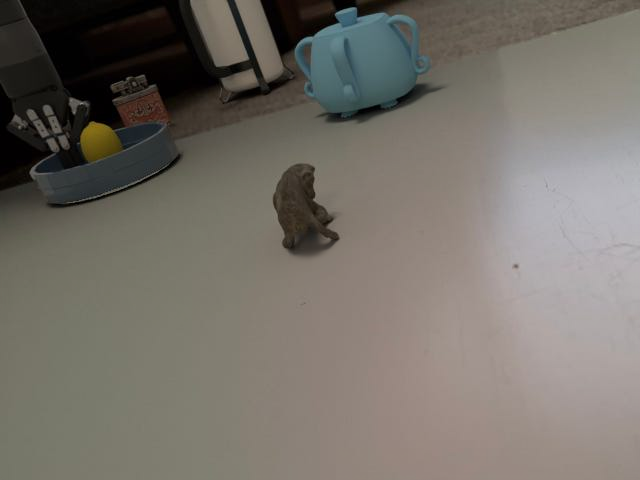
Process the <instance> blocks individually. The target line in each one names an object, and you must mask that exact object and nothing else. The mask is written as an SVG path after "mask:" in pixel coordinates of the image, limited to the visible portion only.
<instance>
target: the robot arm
mask: <svg viewBox="0 0 640 480" xmlns="http://www.w3.org/2000/svg"><path fill="white" fill-rule="evenodd" d="M31 22H32V21H31V20H30V18H29V17H28V15H27V12H26V11H25V9H24V7H23V5H22V3H21V1H20V0H0V85H1V86H2V88H3V90H4V92H5V94H6V96H7V97H8V98H9V100H10V101H11V103H12V111H13V113H14V116H13V118H12V119H11V122H9V123H8V124H7V125H6V130H7V131H8V132H9V133H11V134H13V135H14V136H16V137H17V138H19V139H20V140H22V141H24V142H26V143H27V144H29V145H30V146H32V147H33V148H34V149H37V150H39V151H40V152H42V153H43V152H46V151H48V152H53V153H54V154H55V153H56V155H57V157H58V159H59V161H60V163H61V164H62V166H63V168H64V170H66V169H70V168H74V167H77V166H81V165H85V161H84V159H83V158H82V156H81V154H80V152H79V150H78V148H77V143H80V138H81V134H82V132H83V130H84V129H85V128H86V127H87V126H88V125H89V118H90V114H91V109H92V103H91V102H90V101H89V100H83V101H82V100H79V99H76V98H74V97H72V95H71V93H70V91H69V90H67V89H66V88H65V87H64V86H63V83H62V80H61V78H60V74H59V73H58V71H57V69H56V68H55V65H54V63H53V61H52V59H51V57H50V56H49V53H48V51H47V50H46V49H47V48H46V47H45V45H44V43H43V41H42V39H41V37H40V35H39V33H38V31H37V30H36V28H35V27H34V25H33V24H32V23H31ZM70 112H71V113H72V115H73V116H74V119H73V124H71V122H70V120H69V119H70ZM30 126H31V127H30ZM34 128H35V129H34Z"/></svg>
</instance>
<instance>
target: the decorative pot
mask: <svg viewBox="0 0 640 480" xmlns="http://www.w3.org/2000/svg"><path fill="white" fill-rule="evenodd" d="M334 16H335V18H336V19H337V21H338V23H335V24H332V25H329V26H326V27H325V28H323V29H321V30H319V31H318V32H317V33H315V34H314V35H313V36H307V37H304V38H303V39H301V40H300V41H299V42H298V43H297V45H296V46H295V49H294V58H295V61H296V63H297V66H298V67H299V69H300V70H301V71H302V73H303V74H304V75H305V77H306V78H307V79H308V81H307V82H305V84H304V88H303V89H304V94H305V95H306V96H307V97H308V98H310V99H314V100H315V101H316V102H317V103H318V105H320V107H322V108H323V109H324V110H325V111H327V112H328V113H329V114H337V113H341V115H340V118H342V117H344V118H348V117H347V116H349V117H352V116H354V115H356V114H358V113H357V112H359V110H361V109H367V108H370V107H374V106H377V105H379V106H380V108H381V109H382V108H385V109H387V108H386V107H389V108H391V107H390V106H393V105H395V106H397V105H398V104H399V102H398V101H397V99H398V98H401V97H403V96H405V95H407V94H408V93H409V92H410V91H412V89H413V88H414V87H415V86H416V83H417V80H418V76H421V75H425V74H426V73H428V72H429V71H430V70H431V66H432V65H431V60H430V58H429V57H428V56H427V55H425V54H419V53H420V30H419V26H418V23H417V22H416V21H415V19H413V18H412V17H411V16H408V15H405V14H395V15H394V14H393V15H392V16H389V14H388V13H386V12H377V13H372V14H368V15H363V16H359V17H358V7H348V8H344V9H342V10H339V11H337V12H336V13H335V14H334ZM397 23H402V24H405V25H406V26H408V28H409V30H410V35H411V43H410V41H409V39H408V38H407V36H406V35H405V34H404V32H403V31H402V29H401V28H400V27H399V26H398V25H397ZM309 45H311V49H310V50H311V51H310V65H309V64H308V62H307V61H306V58H305V56H304V51H303V50H304V49H305V47H306V46H309ZM420 61H422V63H423V66H421V65H420V63H419V62H420ZM311 86H312V87H311ZM397 103H398V104H397ZM396 104H397V105H396ZM393 107H394V106H393ZM355 113H356V114H355ZM353 114H354V115H353ZM351 115H352V116H351Z"/></svg>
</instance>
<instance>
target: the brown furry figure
mask: <svg viewBox="0 0 640 480" xmlns="http://www.w3.org/2000/svg"><path fill="white" fill-rule="evenodd" d="M315 171H316V167H315V166H314V165H311V164H309V163H304V162H303V163H302V162H299V163H295V164H293V165H291V166H290V167H288V168H287V169H286V170H285V171H284V172H282V175H281V177H280V179H279V180H278V182H277V183H276V187H275V192H273V195H272V205H273V208H274V210H275V212H276V215H277V221H278V223H279V226H280V227H281V229H282V231H283V234H284V237H283V239H282V242H281V244H282V247H284V248H290V247H292V246H293V245H294V243H295V240H296V238H295V232H297V233H298V234H300V235H301V236H306V235H307V234H308V232H309V228H311V229H312V230H314V231H315V232H316V233H318V234H320V235H322V236H323V237H325V238H326V239H330V240H336V239H338V238H339V237H340V235H339V234H338V232H337V231H334V230H332V229H330V228H327V227H326V226H325V225H324V224H326V223H329V222H330V221H331V220H332V219H333V216H332V215H330V214H329V213H328V210H327V209H326V208H325V207H324V206H323V205H321V204H319V203H318V202H316V201H315V200H314V199H315V198H316V196H317V195H316V191H315V188H314V183H315V180H316V178H315V174H314V173H315Z"/></svg>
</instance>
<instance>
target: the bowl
mask: <svg viewBox="0 0 640 480" xmlns="http://www.w3.org/2000/svg"><path fill="white" fill-rule="evenodd" d="M113 131H114V132H115V133H116V135H117V136H118V138H119V140H120V142H121V144H122V147H123V151H121V152H118V153H116V154H113V155H111V156H108V157H105V158H102V159H99V160H97V161H94V162H91V163H89V162H88V161H87V160H86V158H85V156H84V154H83V151H82V148H81V142H80V141H79V142H78V143H77V148H78V150H79V152H80V154H81V156H82V158H83V159H84V161H85V165H81V166H77V167H74V168H70V169H66V170H64V168H63V166H62V164H61V163H60V161H59V159H58V157H57V155H56V153H55V152H54V153H52V154H51V155H49V156H47V157H45V158H43V159H42V160H40V161H39V162H37V163H36V164H35V165H33V166H32V167H31V169H30V171H29V175H30V177H31V178H32V180H33V182H34V184H35V186H36V187H37V190H38V191H39V193H40V195H41V197H42V199H43V200H44V201H45V202H47V203H48V204H56V205H62V204H61V203H67V202H73V201H79V200H82V199H86V198H89V197H93V196H97V195H101V194H103V193H105V192H108V191H111V190H114V189H117V188H120V187H123V186H125V185H128V184H130V183H132V182H135V181H137V180H140V179H142V178H144V177H146V176H148V175H150V174H152V173H154V172H156V171H158V170H160V169H162V168H163V167H165V166H166V165H168V164H169V163H171V162H172V161H173V162H174V160H175V159H176V158H177V157H178V156H179V155H180V154H179V148H178V146H177V144H176V142H175V140H174V138H173V135H172V133H171V131H170V129H169V128H168V126H167V124H166V123H164V122H159V121H158V122H147V123H142V124H137V125H132V126H128V127H126V126H125V127H122V128H117V129H114V130H113ZM173 162H172V163H173ZM172 163H171V164H172Z"/></svg>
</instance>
